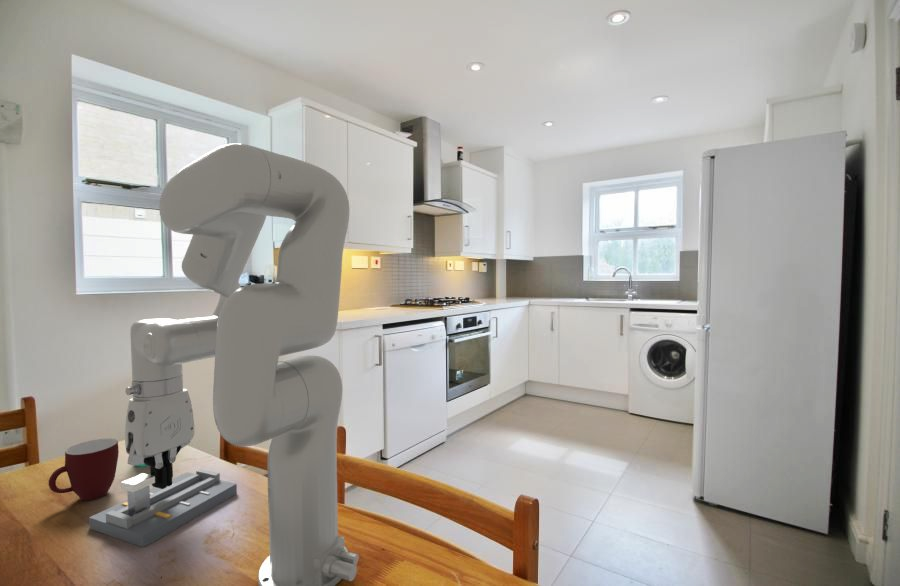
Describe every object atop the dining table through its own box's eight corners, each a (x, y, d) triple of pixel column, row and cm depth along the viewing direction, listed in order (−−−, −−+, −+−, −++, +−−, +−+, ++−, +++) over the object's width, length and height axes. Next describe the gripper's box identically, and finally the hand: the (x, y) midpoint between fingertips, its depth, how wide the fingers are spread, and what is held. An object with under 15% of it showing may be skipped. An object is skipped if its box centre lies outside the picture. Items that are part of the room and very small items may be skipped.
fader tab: (156, 508, 76) (154, 475, 76) (134, 519, 73) (133, 485, 72) (144, 505, 77) (142, 472, 77) (122, 515, 74) (121, 482, 73)
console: (236, 493, 85) (236, 476, 85) (143, 547, 69) (142, 526, 69) (187, 481, 91) (186, 465, 90) (89, 528, 74) (88, 508, 74)
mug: (62, 517, 77) (59, 463, 77) (42, 506, 81) (40, 454, 81) (128, 491, 87) (126, 442, 86) (108, 482, 90) (106, 435, 90)
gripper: (127, 400, 69) (132, 511, 70) (210, 379, 83) (213, 471, 84) (98, 395, 72) (103, 502, 73) (183, 375, 86) (186, 465, 87)
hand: (162, 485), depth 78 cm, fingers closed
